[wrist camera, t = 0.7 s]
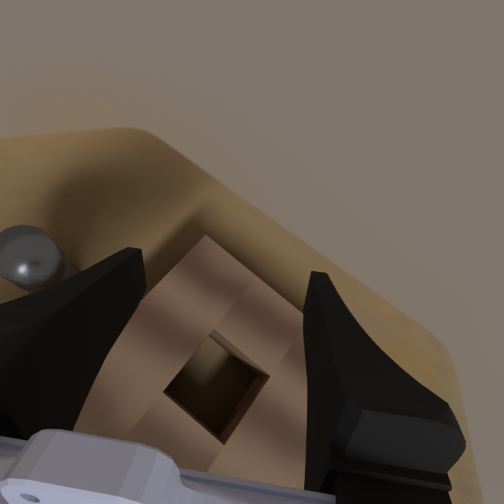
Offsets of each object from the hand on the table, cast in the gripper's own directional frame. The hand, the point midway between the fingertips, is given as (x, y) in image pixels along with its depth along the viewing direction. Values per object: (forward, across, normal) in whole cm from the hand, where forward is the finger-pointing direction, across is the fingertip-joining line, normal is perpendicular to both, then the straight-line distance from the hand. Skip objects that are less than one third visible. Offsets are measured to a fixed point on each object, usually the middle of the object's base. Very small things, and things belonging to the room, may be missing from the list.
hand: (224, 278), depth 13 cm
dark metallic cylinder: (+10, +18, +11) cm, 23 cm away
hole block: (+7, +2, +18) cm, 19 cm away
